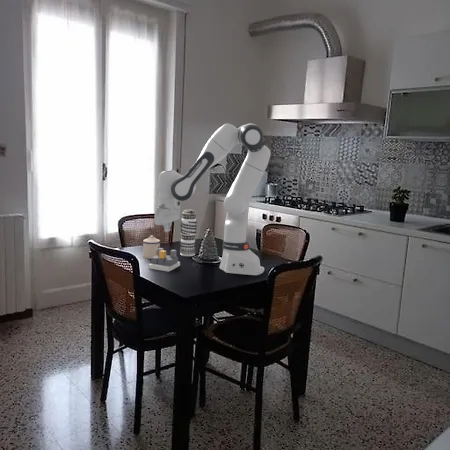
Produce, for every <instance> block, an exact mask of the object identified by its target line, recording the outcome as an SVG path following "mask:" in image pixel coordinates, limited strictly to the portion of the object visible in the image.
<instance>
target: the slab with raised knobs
mask: <svg viewBox="0 0 450 450" xmlns="http://www.w3.org/2000/svg"><path fill="white" fill-rule="evenodd" d="M164 249H165V248H163V247H160V248H158V255H156V256H154V257H152V258H151V259H150V261H151V263H149V264H148V269H150V270H156V271H162V272H170V271H173V270H175V269H176V268H178V267H180V266H181V261H179V257H178V256H177V250H176V249H171V250H170V255H167V254H166V258H164V259H162V258H159V251H161V250H164Z"/></svg>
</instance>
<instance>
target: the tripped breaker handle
mask: <svg viewBox="0 0 450 450" xmlns="http://www.w3.org/2000/svg"><path fill="white" fill-rule="evenodd" d="M166 255H167V250H161V251H159V258H162V259H164V258H166Z"/></svg>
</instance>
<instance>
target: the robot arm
mask: <svg viewBox="0 0 450 450" xmlns="http://www.w3.org/2000/svg"><path fill="white" fill-rule="evenodd" d="M239 144H240V145H242V146H243V147H245V148H246V149H247V154H246V157H245V158H244V161H243V162H242V165H241V167H240V169H239V171H238V173H237V176H236V177H235V178H234V181H233V182H232V184H231V187H230V188H229V190H228V192H227V193H226V196H225V198H224V200H223V208H224V210H225V212H226V215H225V220H224V227H223V228H224V229H223V231H224V233H223V240H222V254H221V255H222V257H221V261H220V264H219V267H218V269H220V270H222V271H223V272H225V274H226V273H227V274H228V273H229V274H236V275H246V276H247V275H248V276H258V275H259V276H260V275H261V274H263V273H264V272H265V267H264V266H261V261H260V258H259V256H258V255H256V254H255V252H253V251H252V250H251V248H250V246H251V243H250V242H248V241H247V230H248V229H247V228H248V218H249V210H250V200H251V199H252V197H253V195H254V193H255V191H256V190H257V188H258V186H259V183H260V182H261V179H262V177H263V175H264V174H265V171H266V169H267V167H268V164H269V162H270V158H271V156H272V155H271V154H272V152H271V150H270V148H269V147H268V146H266V145H265V140H264V132H263V129H261V127H260V126H258V125H257V124H255V123H251V122H249V123H243V124H240V125H238V126H235V125H233V124H231V123H224V124H222V126H220V127H219V128H218V129H217V130H216V131H215V132H214V133H213V134H212V135H211V137H209V139H208V140H207V142H205V145H204V146H203V148H202V150H201V152H200V155H199V156H198V158H197V160H196V161H195V162H194V164H193V165H192V166H191V167H190V168H189V170H188V171H187V172H186V173H185V174H184V175H182V174H180V173H179V172H177V171H176V170H174V169H168V170H163V171H161V172H160V173H159V175H158V181H157V183H158V184H157V190H158V197H157V202H158V203H157V204H158V205H157V207H156V209H155V211H154V220H153V221H154V225H155V226H163V231H164V232H165V233H168V232H170V231H171V227H172V223H174V222H175V221H178V220H180V217H181V203H182V202H183V201H187V200H189V199H190V197H191V196H193V195H194V194H195V192H196V190H197V183H198V182H199V180H200V179H201V178H202V177H203V175H204V174H205V173H206V172H207V171H208V170H209V169H211V168H212V167H214V166H215V165H217V164H218V163H220V162H222V160H223V159H225V157H227V155H228V154H229V153H230V151H232V149H233V148H234V147H235V146H236V145H239ZM181 201H182V202H181Z"/></svg>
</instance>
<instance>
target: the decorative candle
mask: <svg viewBox="0 0 450 450" xmlns="http://www.w3.org/2000/svg"><path fill="white" fill-rule="evenodd" d="M181 213H182V214H181V215H182V216H181V220H180V222H179V223H180V235H181V238H180V248H179V249H180V250H179V254H180V255H181V256H182V257H194V256H195V255H196V247H197V246H196V243H197V242H196V235H197V231H196V230H197V227H198V225H197V224H198V221H197V218H196V217H197V216H196V215H197V212H196V211H195V210H194V209H189V208H186V209H184V210H183V211H182V212H181Z"/></svg>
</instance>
